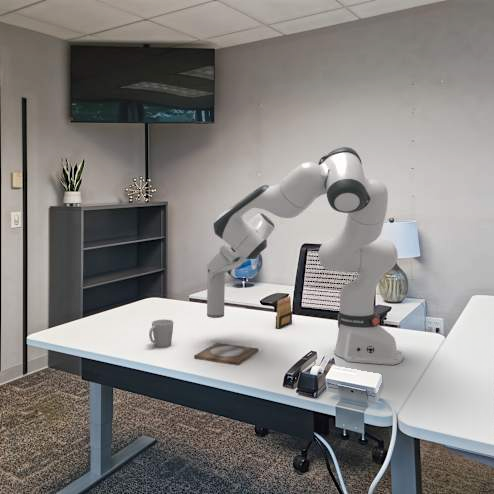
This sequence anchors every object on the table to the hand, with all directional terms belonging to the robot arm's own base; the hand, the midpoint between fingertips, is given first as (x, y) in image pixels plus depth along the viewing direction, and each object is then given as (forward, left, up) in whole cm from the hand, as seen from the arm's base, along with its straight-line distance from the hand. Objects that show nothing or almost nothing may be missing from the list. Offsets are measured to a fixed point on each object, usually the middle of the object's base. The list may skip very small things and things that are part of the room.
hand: (214, 276), depth 179 cm
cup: (+15, +13, -24) cm, 32 cm away
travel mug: (0, 0, -15) cm, 15 cm away
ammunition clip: (-15, -32, -25) cm, 43 cm away
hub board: (-11, +12, -24) cm, 29 cm away
